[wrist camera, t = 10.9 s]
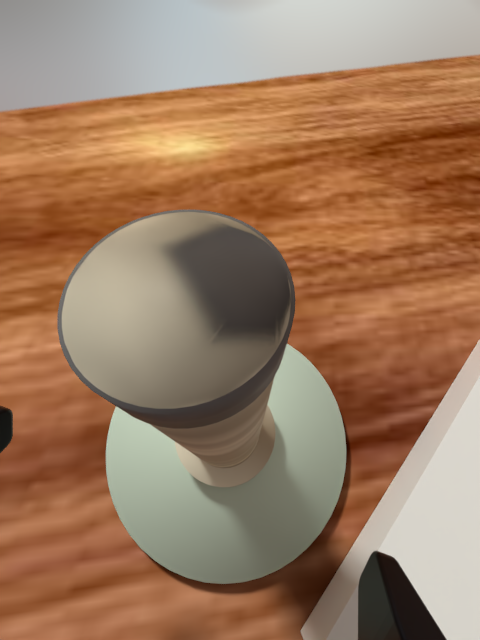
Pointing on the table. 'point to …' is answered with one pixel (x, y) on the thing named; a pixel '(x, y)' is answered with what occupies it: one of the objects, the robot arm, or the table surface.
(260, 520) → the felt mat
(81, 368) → the key peg
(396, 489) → the socket plate
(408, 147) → the table surface
